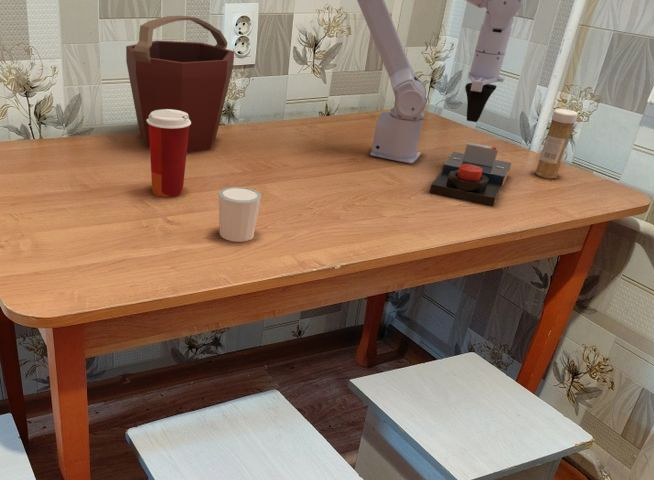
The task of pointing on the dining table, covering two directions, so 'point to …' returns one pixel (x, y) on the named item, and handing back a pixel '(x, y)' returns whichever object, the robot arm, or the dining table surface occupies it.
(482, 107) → the robot arm
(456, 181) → the button box
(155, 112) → the paper cup
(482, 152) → the tap lever
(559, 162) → the spice jar
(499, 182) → the base
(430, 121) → the dining table surface
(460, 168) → the red button
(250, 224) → the white tapered cup
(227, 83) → the bucket
